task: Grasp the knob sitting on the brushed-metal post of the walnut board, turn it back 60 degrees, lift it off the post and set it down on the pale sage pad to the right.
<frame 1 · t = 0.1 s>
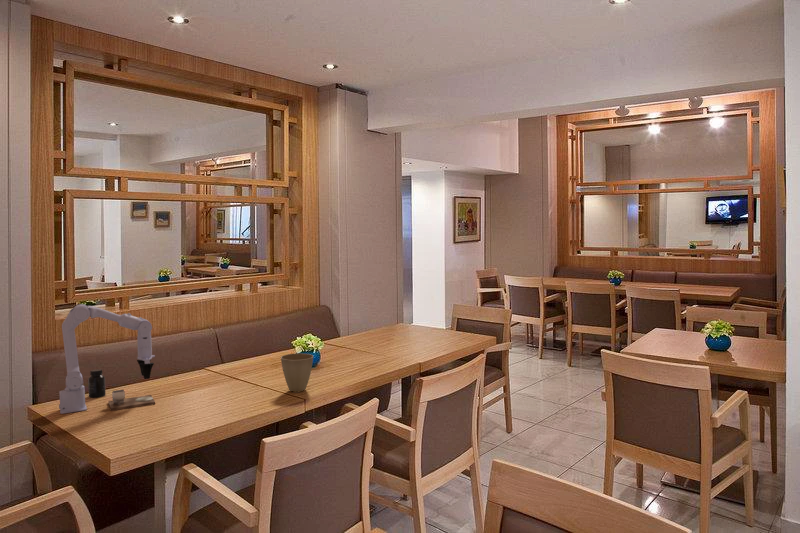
hand: (145, 376, 247), 10 cm above the table, fingers open, 7 cm apart
supplement bottle: (97, 396, 254), on the table
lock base: (131, 403, 241), on the table
knob: (118, 398, 239), point 3 cm above the table, touching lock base
plant pot: (297, 390, 259), on the table
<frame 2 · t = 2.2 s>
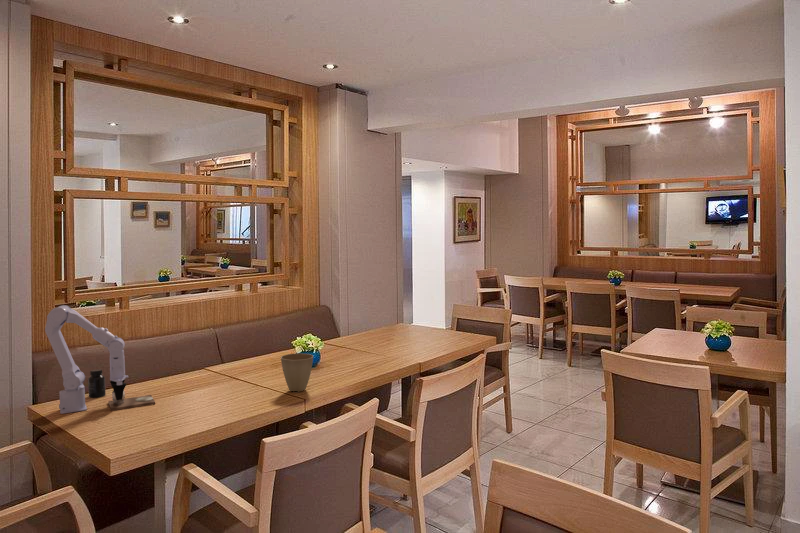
hand: (118, 398, 239), 3 cm above the table, fingers closed on knob, 5 cm apart
knob: (118, 398, 239), point 3 cm above the table, touching gripper, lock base
everything else where it was.
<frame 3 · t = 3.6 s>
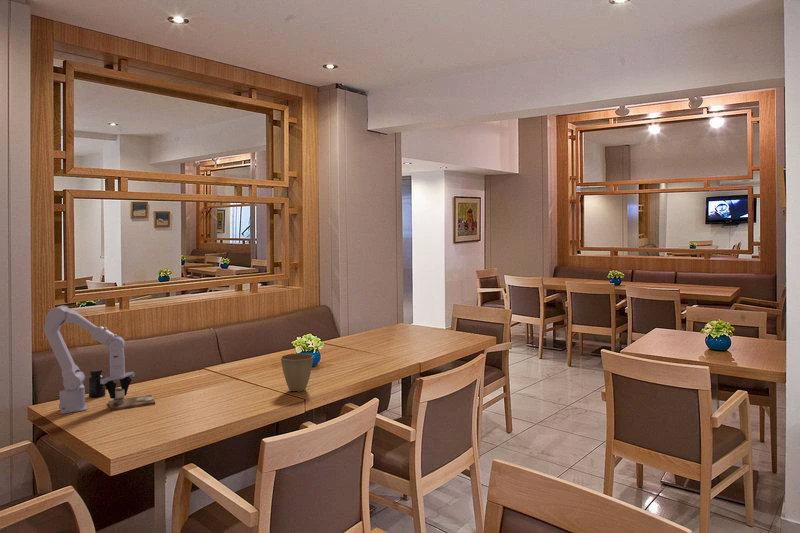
hand: (118, 396, 239), 4 cm above the table, fingers closed on knob, 5 cm apart
knob: (118, 397, 239), point 4 cm above the table, touching gripper
everything else where it was.
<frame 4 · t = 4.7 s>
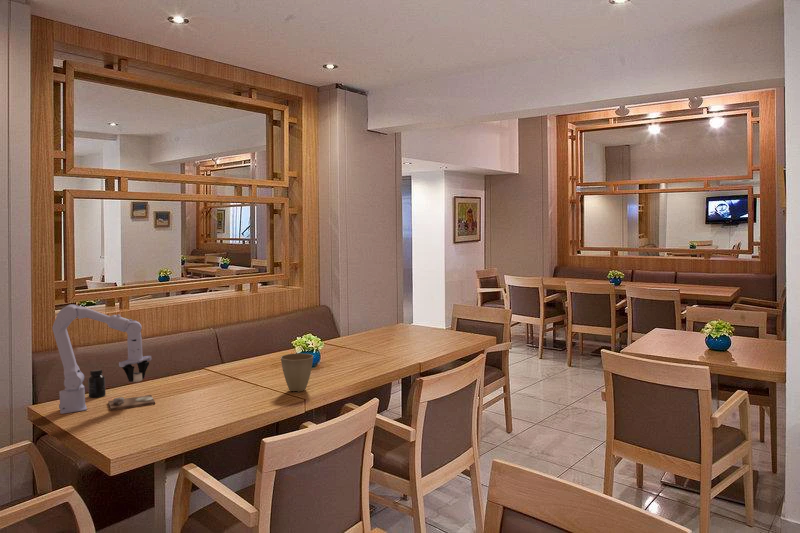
hand: (136, 380, 242), 10 cm above the table, fingers closed on knob, 5 cm apart
knob: (136, 380, 242), point 10 cm above the table, touching gripper
everything else where it was.
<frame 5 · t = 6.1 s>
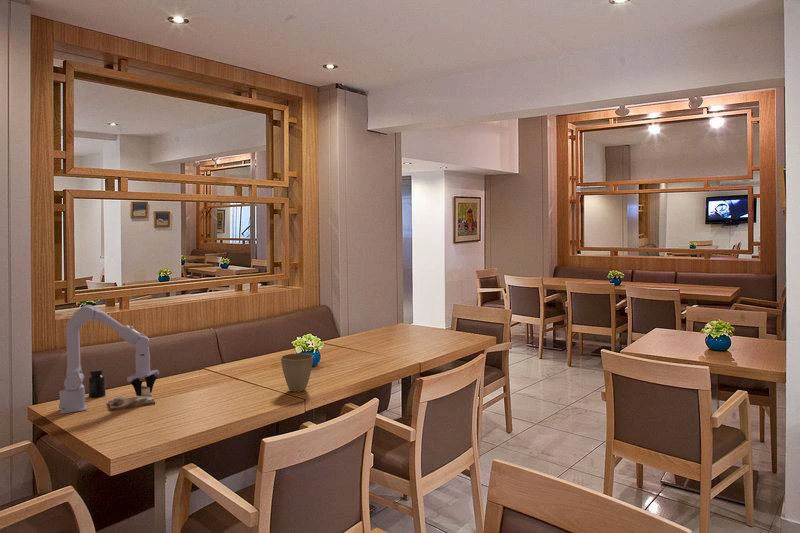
hand: (144, 394, 244), 3 cm above the table, fingers closed on knob, 5 cm apart
knob: (144, 394, 244), point 3 cm above the table, touching gripper
everything else where it was.
when the fingers open (3 cm above the table, at t = 7.2 s): knob drops 1 cm, resting on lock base.
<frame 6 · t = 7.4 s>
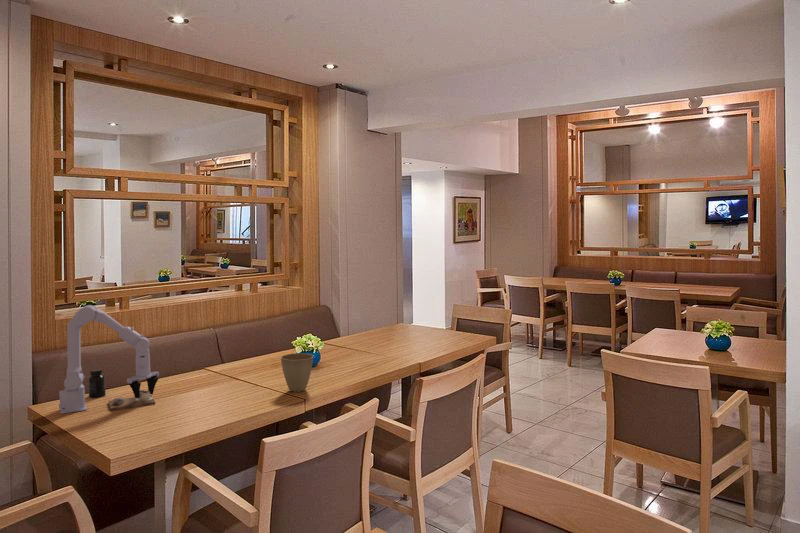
hand: (144, 395, 244), 3 cm above the table, fingers open, 6 cm apart
knob: (144, 399, 244), point 1 cm above the table, touching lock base
everything else where it was.
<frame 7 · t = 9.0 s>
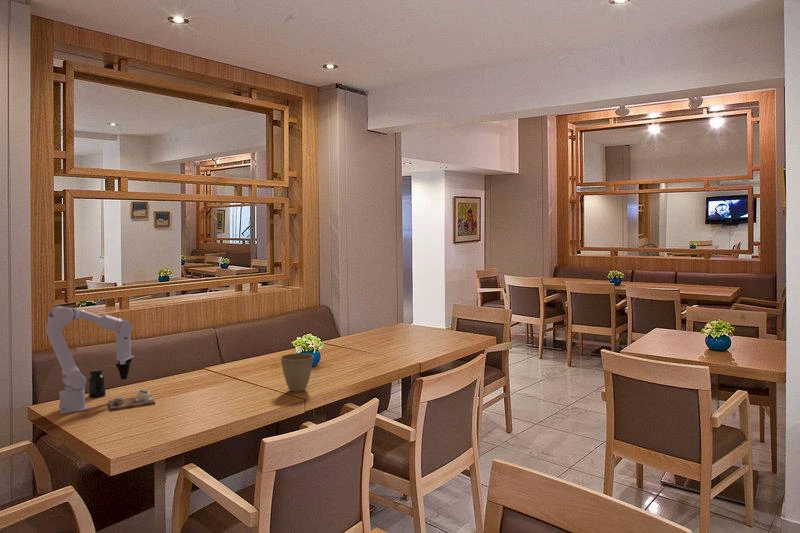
hand: (124, 377, 248), 10 cm above the table, fingers open, 7 cm apart
nothing on the table moved.
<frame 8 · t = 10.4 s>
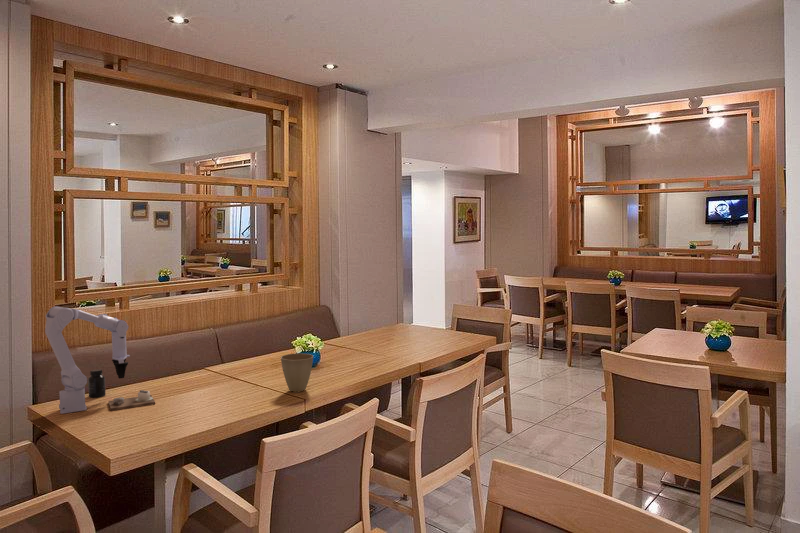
hand: (120, 376, 249), 10 cm above the table, fingers open, 7 cm apart
nothing on the table moved.
at the end: knob 0.0 cm from the target spot on the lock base, point 1.2 cm above the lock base's base; knob tilted 0°; the gripper is holding nothing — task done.
